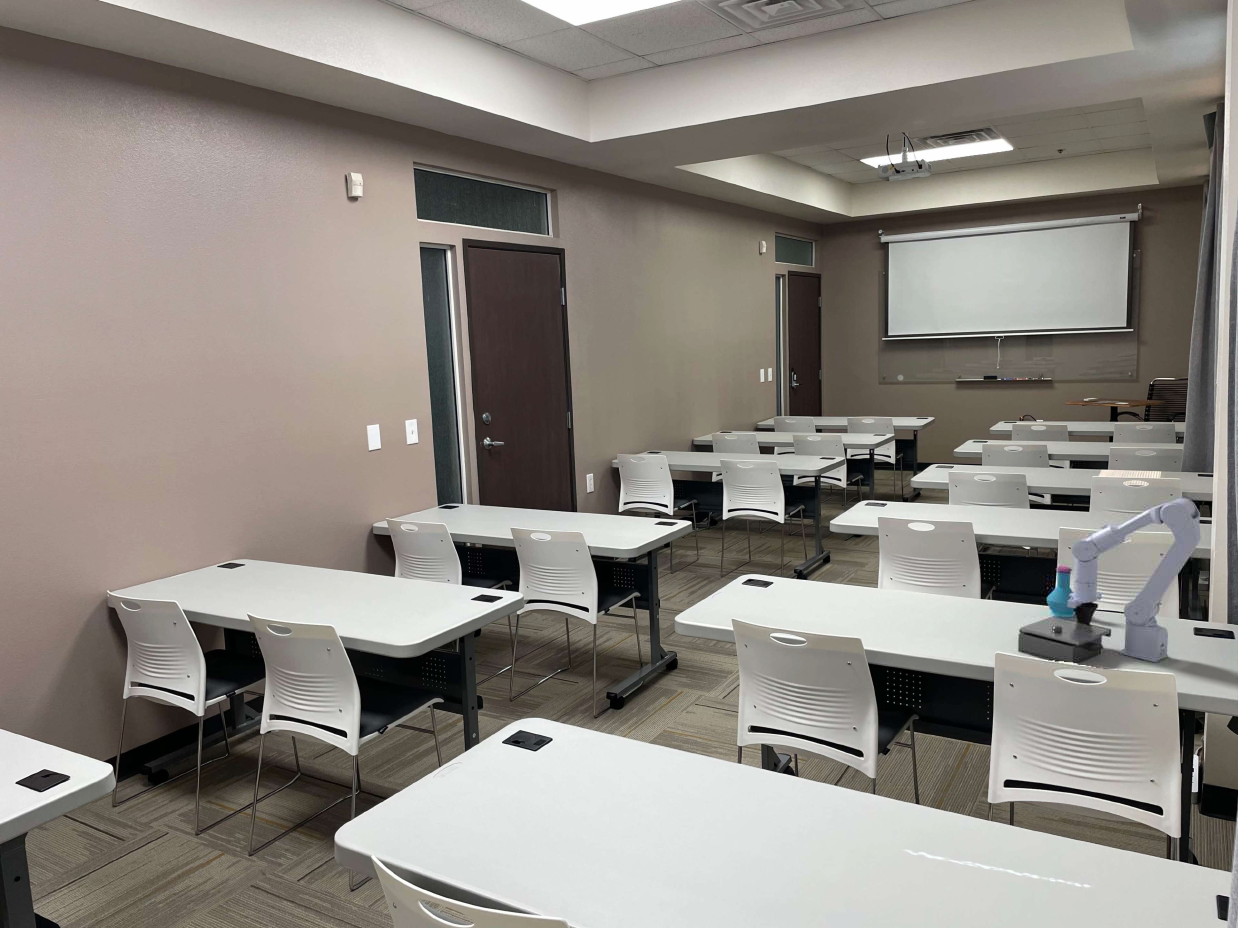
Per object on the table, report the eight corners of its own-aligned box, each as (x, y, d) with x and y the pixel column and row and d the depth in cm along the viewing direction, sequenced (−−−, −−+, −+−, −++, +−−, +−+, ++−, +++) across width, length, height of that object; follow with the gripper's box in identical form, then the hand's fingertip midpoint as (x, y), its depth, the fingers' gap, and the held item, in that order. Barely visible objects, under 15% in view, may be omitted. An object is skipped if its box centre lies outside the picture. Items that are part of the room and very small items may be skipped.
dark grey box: (1112, 656, 232) (1113, 638, 231) (1083, 669, 223) (1084, 650, 223) (1037, 637, 249) (1037, 620, 248) (1008, 648, 240) (1008, 631, 240)
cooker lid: (1110, 636, 235) (1111, 624, 235) (1078, 649, 226) (1078, 637, 226) (1053, 622, 249) (1054, 611, 248) (1020, 634, 239) (1021, 623, 239)
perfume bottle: (1071, 609, 275) (1073, 564, 273) (1084, 618, 265) (1085, 571, 264) (1041, 609, 275) (1042, 564, 274) (1053, 618, 266) (1054, 571, 265)
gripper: (1084, 574, 248) (1082, 619, 250) (1057, 582, 240) (1055, 629, 242) (1109, 578, 243) (1107, 625, 244) (1082, 587, 234) (1081, 635, 236)
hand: (1083, 627), depth 243 cm, fingers closed
